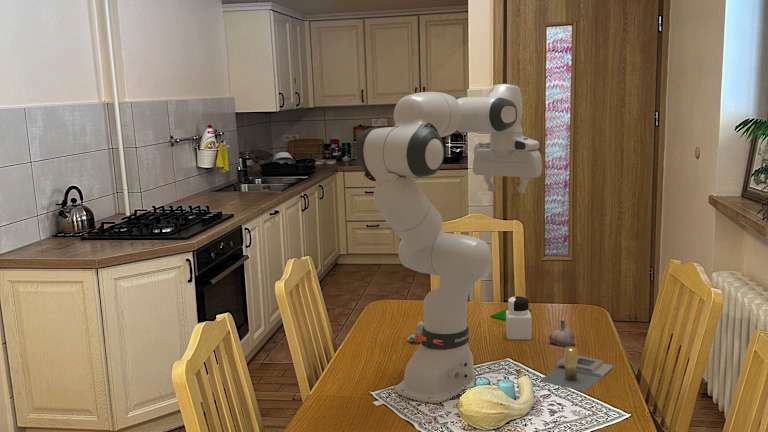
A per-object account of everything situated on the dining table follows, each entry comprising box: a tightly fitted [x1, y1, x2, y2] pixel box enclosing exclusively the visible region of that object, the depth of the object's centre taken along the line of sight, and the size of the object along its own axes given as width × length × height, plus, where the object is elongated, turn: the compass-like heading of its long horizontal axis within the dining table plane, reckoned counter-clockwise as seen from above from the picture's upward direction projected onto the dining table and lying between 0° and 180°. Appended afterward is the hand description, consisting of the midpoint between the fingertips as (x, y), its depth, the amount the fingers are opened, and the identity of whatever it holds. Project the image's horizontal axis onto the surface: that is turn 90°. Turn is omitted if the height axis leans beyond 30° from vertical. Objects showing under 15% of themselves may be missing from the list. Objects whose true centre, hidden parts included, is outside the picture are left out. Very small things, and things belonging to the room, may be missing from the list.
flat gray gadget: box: [556, 354, 613, 378], centre depth 186 cm, size 7×12×2 cm, turn 52°
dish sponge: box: [489, 308, 533, 326], centre depth 234 cm, size 7×14×2 cm, turn 135°
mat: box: [539, 362, 616, 393], centre depth 183 cm, size 20×12×2 cm, turn 142°
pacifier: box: [406, 321, 424, 343], centre depth 216 cm, size 7×6×6 cm
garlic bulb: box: [548, 318, 576, 348], centre depth 208 cm, size 8×7×8 cm
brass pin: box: [564, 345, 578, 381], centre depth 179 cm, size 3×3×8 cm
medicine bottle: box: [505, 295, 533, 341], centre depth 216 cm, size 7×7×12 cm
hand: (506, 192), depth 200 cm, fingers open, 8 cm apart
